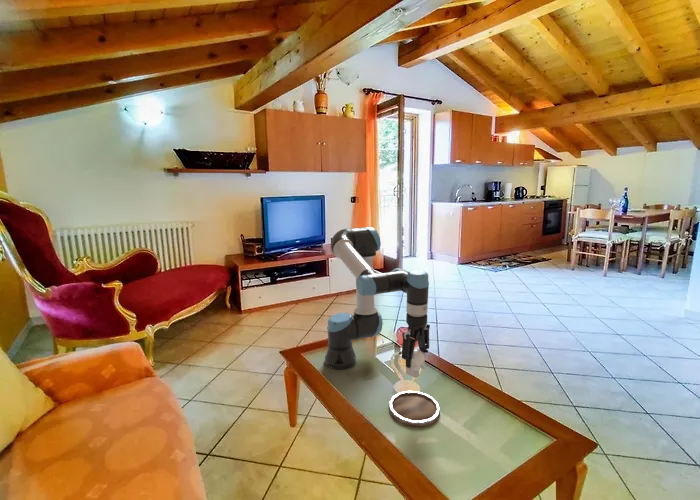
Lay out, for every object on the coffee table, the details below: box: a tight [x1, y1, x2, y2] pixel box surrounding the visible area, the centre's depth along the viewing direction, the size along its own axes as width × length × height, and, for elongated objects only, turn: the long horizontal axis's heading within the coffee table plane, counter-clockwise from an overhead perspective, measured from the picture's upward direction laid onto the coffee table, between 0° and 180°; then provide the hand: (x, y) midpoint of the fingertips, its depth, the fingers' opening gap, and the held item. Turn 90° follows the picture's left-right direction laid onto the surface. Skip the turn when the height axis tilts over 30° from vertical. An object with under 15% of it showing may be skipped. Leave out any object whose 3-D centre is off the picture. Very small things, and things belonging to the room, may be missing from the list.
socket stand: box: [388, 390, 441, 428], centre depth 136 cm, size 19×19×2 cm
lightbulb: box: [412, 348, 424, 378], centre depth 132 cm, size 6×6×11 cm
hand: (415, 370), depth 133 cm, fingers closed on lightbulb, 6 cm apart
